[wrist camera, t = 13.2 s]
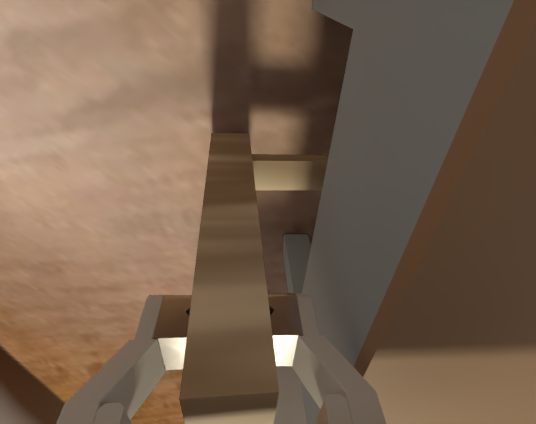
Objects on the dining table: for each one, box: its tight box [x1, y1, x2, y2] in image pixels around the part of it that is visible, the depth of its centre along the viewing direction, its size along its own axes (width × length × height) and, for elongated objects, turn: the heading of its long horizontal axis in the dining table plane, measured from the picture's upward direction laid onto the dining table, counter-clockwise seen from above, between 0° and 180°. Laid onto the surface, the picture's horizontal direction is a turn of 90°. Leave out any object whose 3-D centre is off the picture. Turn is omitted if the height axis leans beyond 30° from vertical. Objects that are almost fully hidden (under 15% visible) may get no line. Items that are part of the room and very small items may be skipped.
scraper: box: [179, 133, 329, 424], centre depth 16 cm, size 9×18×16 cm, turn 87°
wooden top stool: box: [282, 0, 536, 424], centre depth 16 cm, size 20×14×16 cm
